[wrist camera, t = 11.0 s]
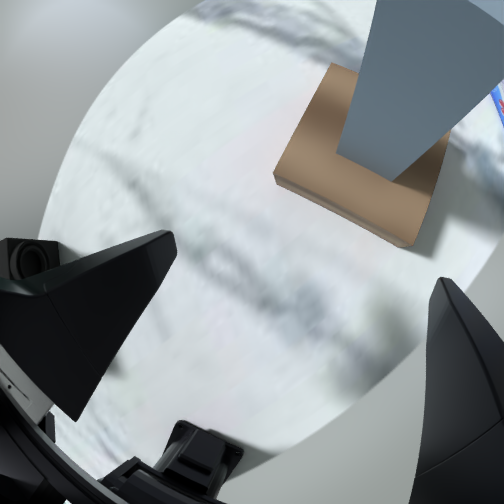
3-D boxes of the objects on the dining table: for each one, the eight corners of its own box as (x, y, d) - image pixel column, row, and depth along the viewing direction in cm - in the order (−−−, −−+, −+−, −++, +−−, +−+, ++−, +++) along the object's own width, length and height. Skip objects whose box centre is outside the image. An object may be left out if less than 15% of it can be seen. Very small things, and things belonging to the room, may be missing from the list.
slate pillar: (391, 181, 16) (532, 49, 2) (335, 153, 17) (385, -40, 3) (408, 133, 16) (513, -10, 2) (356, 106, 16) (403, -71, 3)
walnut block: (397, 247, 19) (412, 245, 16) (276, 184, 20) (272, 172, 17) (436, 138, 18) (451, 124, 15) (329, 83, 20) (331, 62, 17)
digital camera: (81, 342, 23) (30, 359, 16) (50, 341, 24) (4, 354, 17) (65, 238, 24) (12, 234, 17) (36, 247, 25) (-12, 245, 18)
